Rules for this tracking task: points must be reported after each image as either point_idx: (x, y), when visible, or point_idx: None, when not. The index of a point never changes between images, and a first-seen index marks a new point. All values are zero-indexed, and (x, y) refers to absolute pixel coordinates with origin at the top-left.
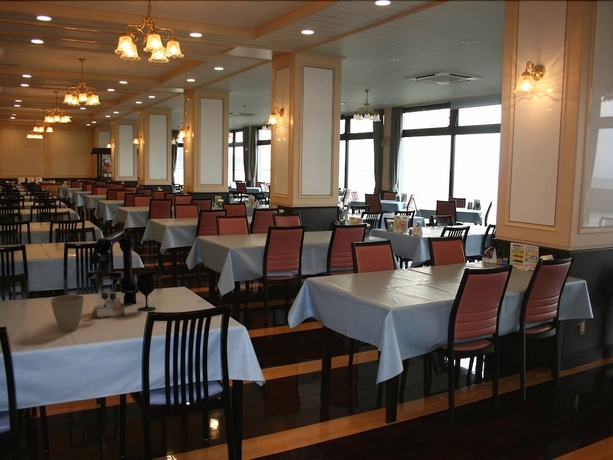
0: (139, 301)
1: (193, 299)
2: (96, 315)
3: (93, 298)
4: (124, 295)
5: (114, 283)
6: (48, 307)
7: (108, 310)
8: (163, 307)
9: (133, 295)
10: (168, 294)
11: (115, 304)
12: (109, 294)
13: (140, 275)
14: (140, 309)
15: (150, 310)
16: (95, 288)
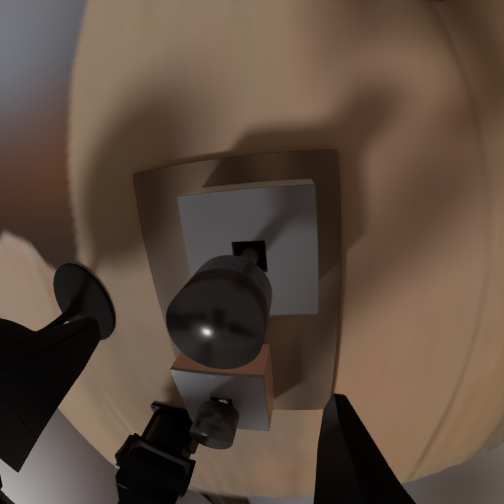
0: None
1: None
2: (320, 212)
3: None
4: (188, 448)
5: (3, 351)
6: (474, 408)
7: (221, 189)
8: (48, 311)
9: (149, 433)
10: (107, 438)
11: None
12: (230, 433)
13: None
14: (93, 294)
15: (59, 267)
16: (351, 413)
